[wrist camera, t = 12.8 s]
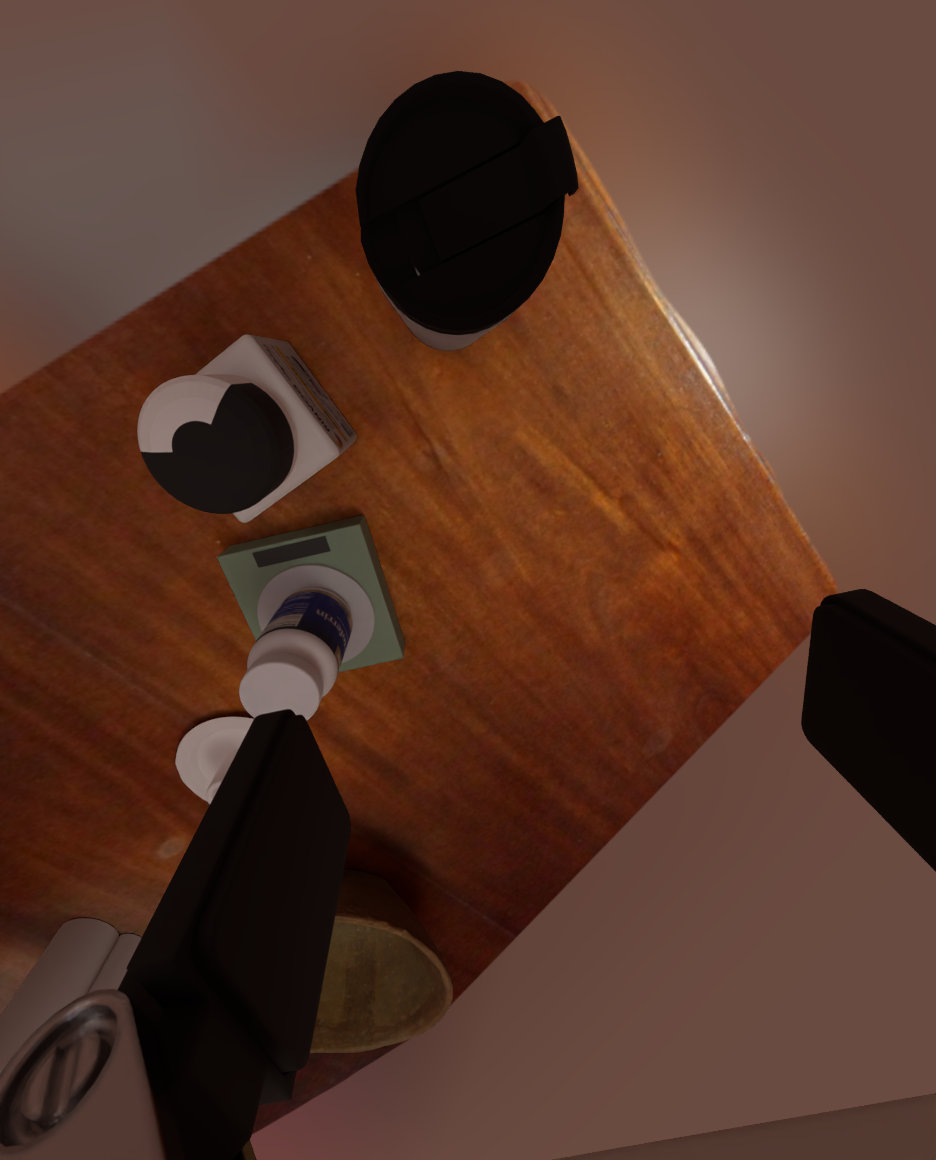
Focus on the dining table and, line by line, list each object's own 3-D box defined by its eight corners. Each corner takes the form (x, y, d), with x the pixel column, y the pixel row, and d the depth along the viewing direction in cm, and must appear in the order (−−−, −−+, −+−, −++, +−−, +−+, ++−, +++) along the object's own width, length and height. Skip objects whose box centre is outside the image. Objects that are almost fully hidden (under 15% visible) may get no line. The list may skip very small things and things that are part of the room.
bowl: (447, 817, 51) (450, 914, 42) (452, 946, 61) (454, 1049, 51) (238, 829, 50) (194, 932, 41) (275, 959, 59) (246, 1066, 50)
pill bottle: (366, 634, 38) (344, 717, 29) (302, 658, 39) (261, 747, 30) (332, 573, 36) (297, 643, 27) (265, 600, 37) (208, 676, 28)
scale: (229, 545, 38) (213, 559, 35) (364, 514, 37) (358, 525, 35) (285, 669, 43) (275, 689, 40) (405, 642, 42) (403, 661, 40)
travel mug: (512, 325, 33) (606, 271, 14) (424, 366, 33) (408, 365, 15) (477, 222, 30) (538, -1, 12) (383, 268, 31) (304, 125, 13)
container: (360, 437, 35) (321, 473, 23) (279, 496, 36) (203, 558, 25) (287, 338, 32) (200, 321, 20) (202, 406, 34) (75, 427, 22)
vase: (46, 935, 55) (-148, 1217, 37) (84, 908, 54) (-98, 1187, 35) (131, 976, 59) (-6, 1248, 41) (169, 951, 58) (44, 1222, 39)
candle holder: (159, 773, 47) (133, 811, 43) (214, 690, 43) (192, 723, 39) (272, 821, 50) (257, 860, 46) (331, 748, 47) (322, 783, 43)
